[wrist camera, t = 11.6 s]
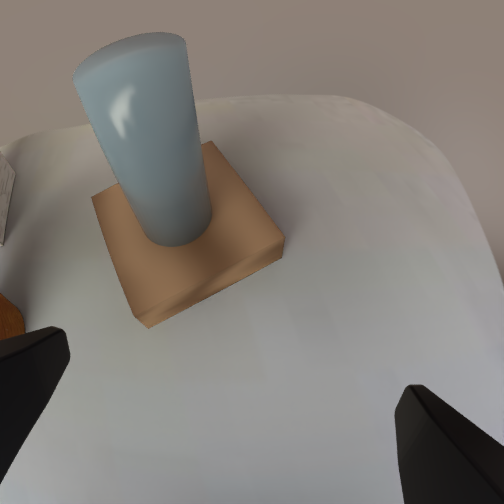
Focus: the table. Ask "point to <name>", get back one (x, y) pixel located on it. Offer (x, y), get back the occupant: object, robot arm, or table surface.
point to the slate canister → (150, 132)
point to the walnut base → (189, 246)
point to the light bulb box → (5, 193)
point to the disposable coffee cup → (10, 320)
